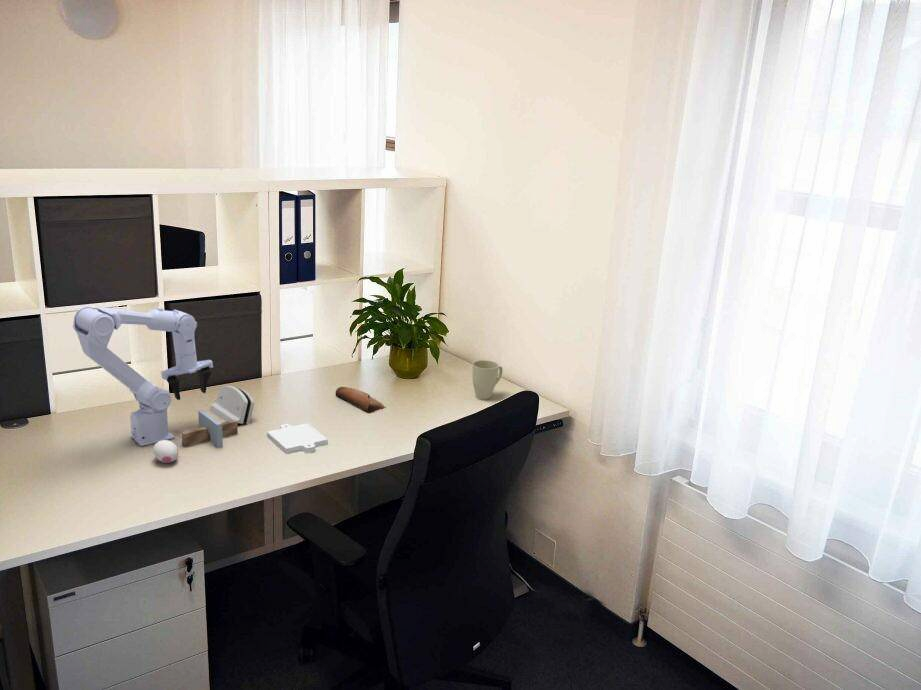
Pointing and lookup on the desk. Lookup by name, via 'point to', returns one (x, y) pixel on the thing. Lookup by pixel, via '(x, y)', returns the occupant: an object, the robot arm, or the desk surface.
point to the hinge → (233, 405)
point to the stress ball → (165, 451)
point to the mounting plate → (297, 438)
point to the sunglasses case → (359, 399)
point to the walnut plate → (202, 435)
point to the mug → (485, 378)
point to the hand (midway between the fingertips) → (190, 395)
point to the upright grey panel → (211, 427)
